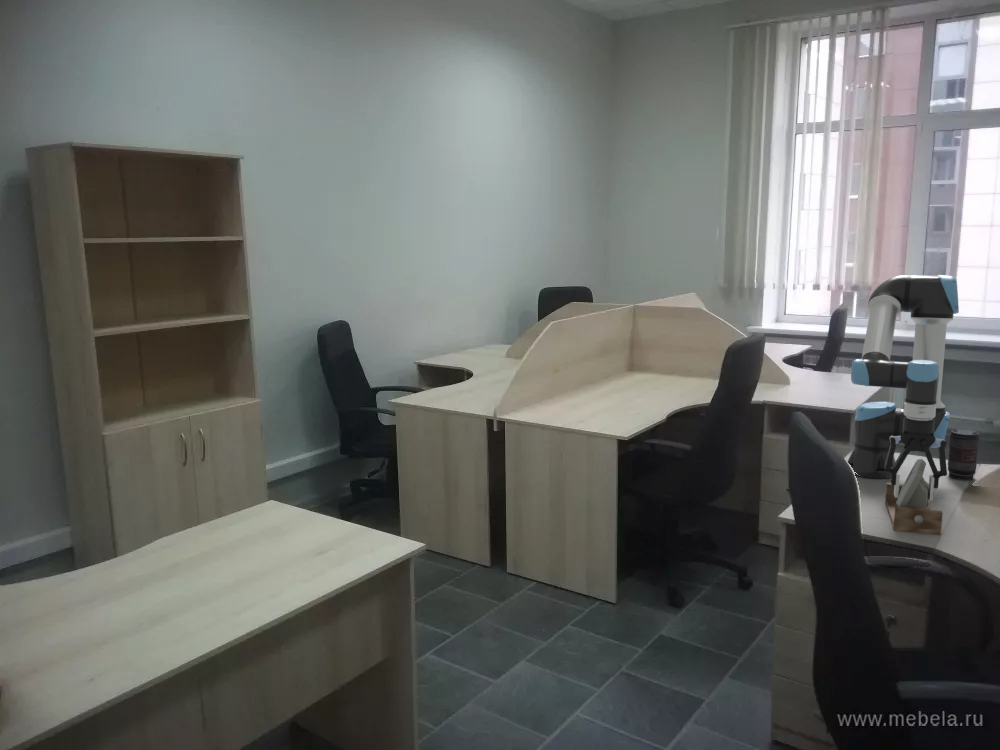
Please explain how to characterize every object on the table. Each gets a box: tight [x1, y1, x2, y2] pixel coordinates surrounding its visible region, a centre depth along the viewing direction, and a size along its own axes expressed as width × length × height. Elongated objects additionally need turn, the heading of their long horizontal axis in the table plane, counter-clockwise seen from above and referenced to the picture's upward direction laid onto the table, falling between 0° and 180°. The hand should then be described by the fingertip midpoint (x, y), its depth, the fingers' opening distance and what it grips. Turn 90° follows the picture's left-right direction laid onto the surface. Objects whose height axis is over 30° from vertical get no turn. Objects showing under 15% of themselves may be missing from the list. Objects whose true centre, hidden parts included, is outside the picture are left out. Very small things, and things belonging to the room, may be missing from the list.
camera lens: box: [947, 428, 980, 481], centre depth 245 cm, size 8×8×15 cm
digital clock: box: [896, 458, 929, 508], centre depth 211 cm, size 16×9×11 cm, turn 136°
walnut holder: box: [884, 482, 944, 536], centre depth 212 cm, size 11×24×6 cm, turn 159°
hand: (913, 497), depth 212 cm, fingers closed on digital clock, 8 cm apart
